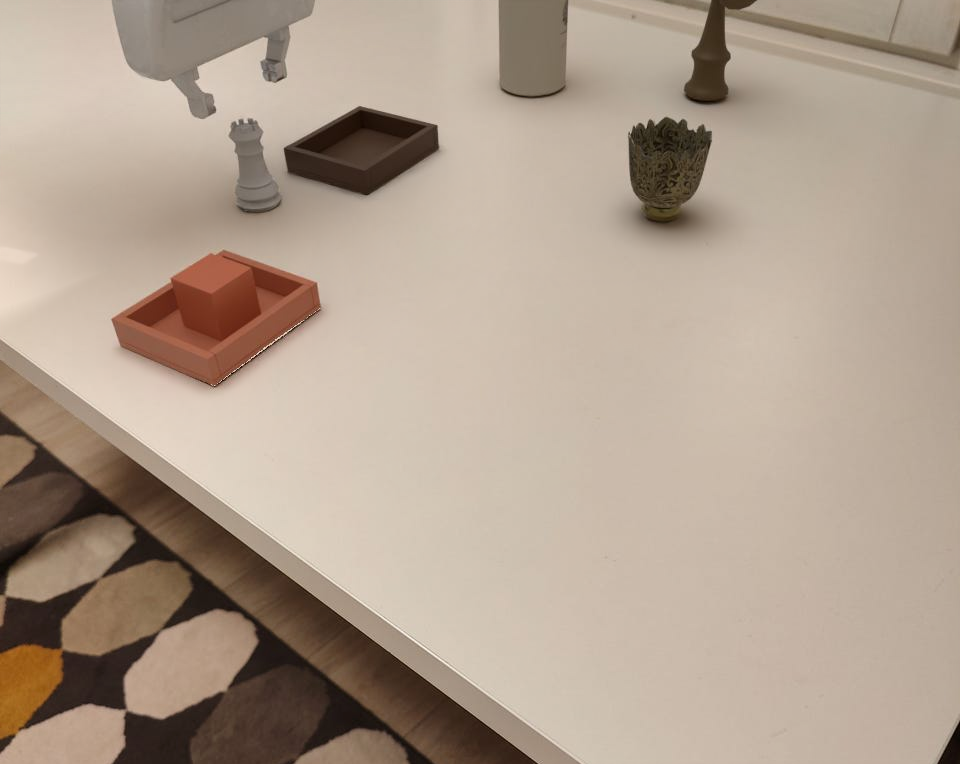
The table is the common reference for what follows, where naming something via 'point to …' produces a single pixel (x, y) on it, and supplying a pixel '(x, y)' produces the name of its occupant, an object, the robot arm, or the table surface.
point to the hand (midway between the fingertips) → (241, 97)
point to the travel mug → (532, 46)
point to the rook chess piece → (252, 169)
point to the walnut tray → (362, 149)
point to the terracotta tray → (170, 343)
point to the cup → (666, 165)
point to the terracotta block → (216, 296)
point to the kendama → (712, 54)
